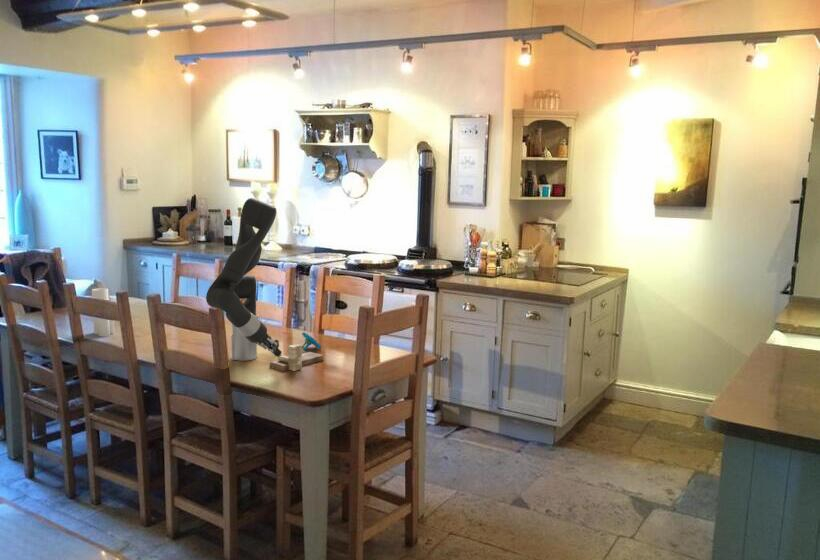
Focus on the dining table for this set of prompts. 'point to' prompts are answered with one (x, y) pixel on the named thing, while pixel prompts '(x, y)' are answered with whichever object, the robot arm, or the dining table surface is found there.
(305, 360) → the board
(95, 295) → the vase
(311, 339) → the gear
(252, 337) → the robot arm
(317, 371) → the dining table surface
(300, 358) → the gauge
